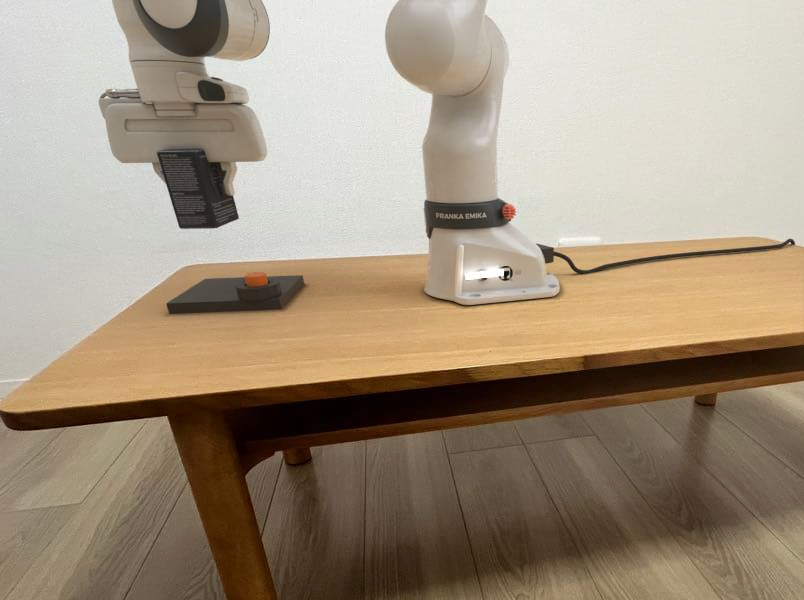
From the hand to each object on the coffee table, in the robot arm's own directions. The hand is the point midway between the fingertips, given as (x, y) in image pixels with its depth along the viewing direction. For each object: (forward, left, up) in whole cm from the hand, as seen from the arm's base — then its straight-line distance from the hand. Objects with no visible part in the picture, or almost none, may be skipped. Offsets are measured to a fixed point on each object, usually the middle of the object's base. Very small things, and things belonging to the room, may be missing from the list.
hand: (203, 195), depth 81 cm
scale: (-3, +2, -15) cm, 16 cm away
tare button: (-7, +6, -12) cm, 16 cm away
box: (0, 0, -4) cm, 4 cm away
